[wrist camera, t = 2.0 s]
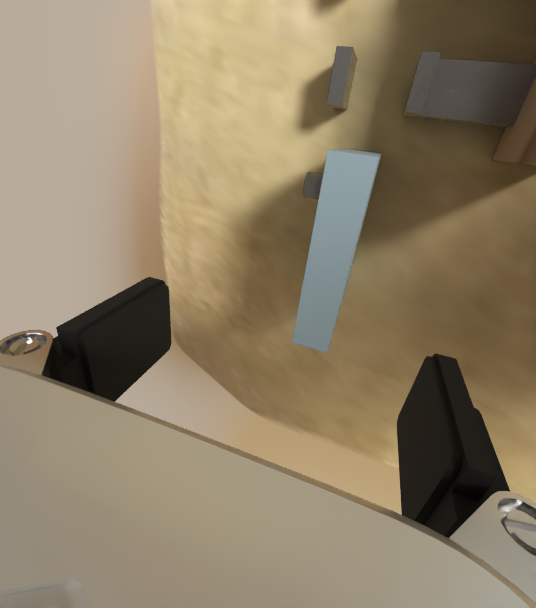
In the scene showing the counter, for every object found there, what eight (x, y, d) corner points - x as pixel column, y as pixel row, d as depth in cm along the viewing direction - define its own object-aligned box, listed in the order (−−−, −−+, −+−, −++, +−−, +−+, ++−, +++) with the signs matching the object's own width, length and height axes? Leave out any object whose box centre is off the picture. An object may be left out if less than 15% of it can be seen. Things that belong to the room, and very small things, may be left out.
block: (381, 153, 23) (378, 157, 15) (344, 293, 29) (327, 353, 21) (333, 147, 24) (304, 146, 16) (306, 284, 30) (275, 337, 21)
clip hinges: (605, -104, 15) (648, -154, 13) (505, 126, 20) (523, 123, 18) (370, -93, 18) (367, -132, 15) (333, 108, 23) (326, 103, 20)
